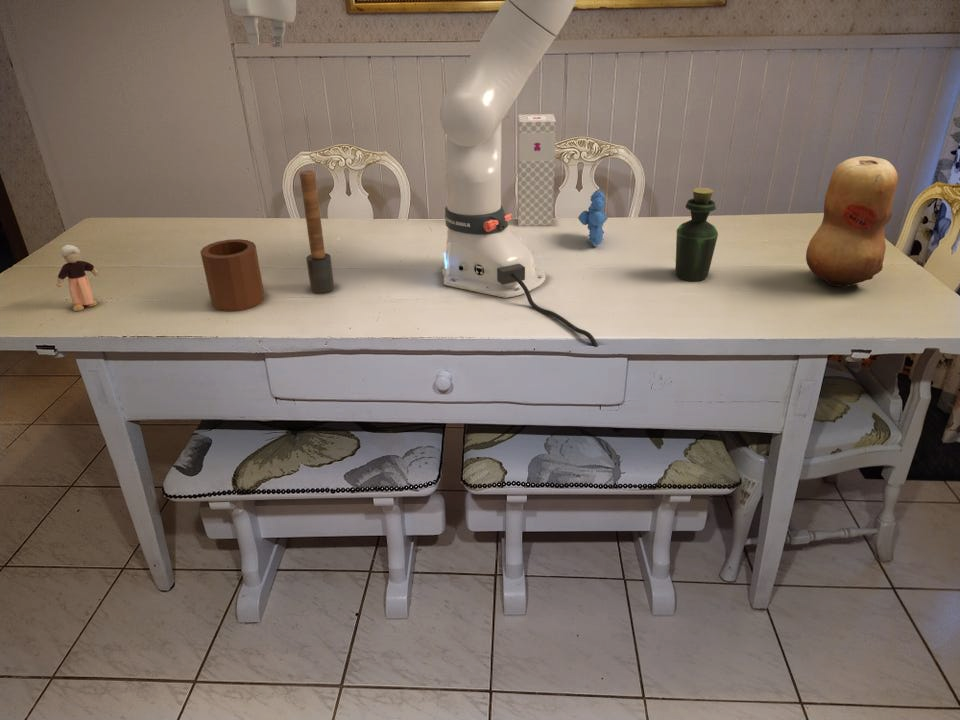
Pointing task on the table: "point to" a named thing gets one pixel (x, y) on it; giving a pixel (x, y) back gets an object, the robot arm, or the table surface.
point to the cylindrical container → (233, 274)
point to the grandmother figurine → (77, 277)
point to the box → (536, 169)
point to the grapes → (595, 218)
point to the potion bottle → (696, 238)
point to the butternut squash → (854, 222)
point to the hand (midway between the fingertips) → (266, 46)
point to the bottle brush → (315, 238)
